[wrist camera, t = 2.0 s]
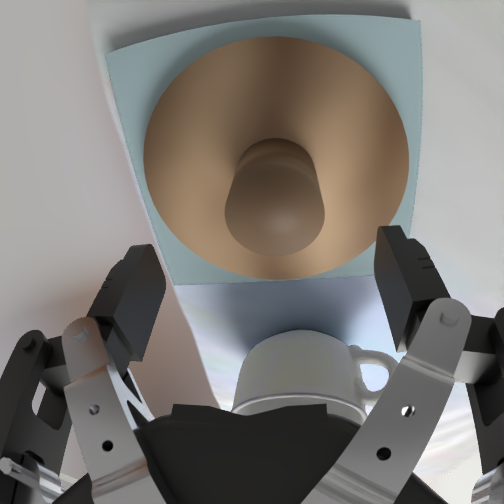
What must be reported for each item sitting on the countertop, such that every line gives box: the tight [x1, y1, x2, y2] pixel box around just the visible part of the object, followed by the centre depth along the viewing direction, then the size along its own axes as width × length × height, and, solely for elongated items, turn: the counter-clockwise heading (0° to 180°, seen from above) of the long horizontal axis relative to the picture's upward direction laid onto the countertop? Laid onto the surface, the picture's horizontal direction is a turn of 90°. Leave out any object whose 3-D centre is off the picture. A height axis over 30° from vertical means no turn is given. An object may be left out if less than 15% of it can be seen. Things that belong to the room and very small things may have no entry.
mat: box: [105, 14, 423, 285], centre depth 17 cm, size 16×16×1 cm
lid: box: [143, 36, 409, 280], centre depth 15 cm, size 14×14×5 cm
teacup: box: [231, 330, 398, 425], centre depth 24 cm, size 14×11×8 cm
